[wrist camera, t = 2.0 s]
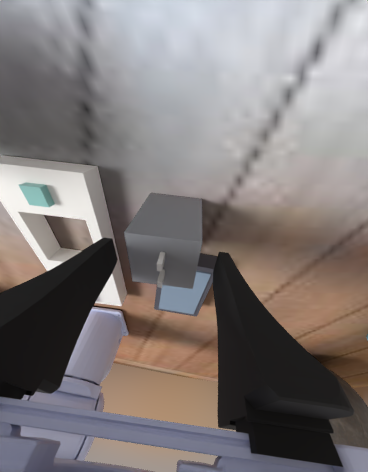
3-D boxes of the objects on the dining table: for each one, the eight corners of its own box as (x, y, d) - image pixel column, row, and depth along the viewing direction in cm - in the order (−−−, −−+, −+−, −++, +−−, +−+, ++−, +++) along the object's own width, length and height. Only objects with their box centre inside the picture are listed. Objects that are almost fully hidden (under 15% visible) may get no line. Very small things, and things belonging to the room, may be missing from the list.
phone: (196, 300, 24) (196, 317, 22) (157, 293, 24) (153, 310, 22) (216, 253, 18) (218, 271, 16) (164, 243, 18) (159, 260, 16)
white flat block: (127, 293, 24) (118, 313, 21) (74, 286, 24) (60, 305, 21) (97, 166, 13) (73, 177, 10) (1, 155, 13) (-44, 163, 11)
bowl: (362, 360, 30) (442, 480, 20) (293, 378, 41) (323, 464, 31) (284, 338, 28) (330, 463, 18) (232, 364, 39) (242, 451, 29)
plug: (195, 239, 16) (192, 301, 11) (152, 233, 17) (127, 293, 11) (201, 198, 14) (202, 254, 8) (150, 192, 14) (116, 243, 8)
